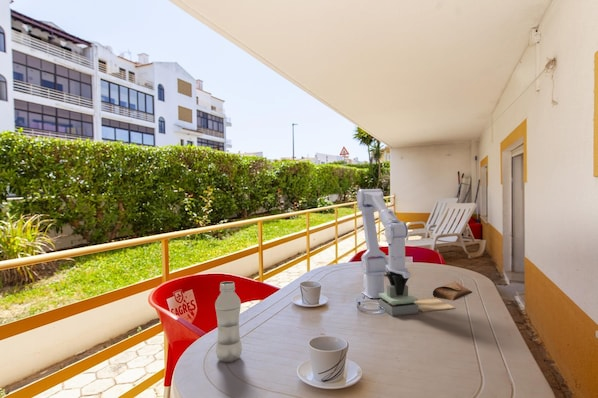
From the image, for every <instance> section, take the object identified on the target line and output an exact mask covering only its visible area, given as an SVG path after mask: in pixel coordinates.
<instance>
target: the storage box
mask: <svg viewBox="0 0 598 398" xmlns="http://www.w3.org/2000/svg"><path fill="white" fill-rule="evenodd" d="M379 305H380V306H382V307H383V308H384V309H385V311H384V312H385V313H387V314H388V315H389V316H391V317H397V316H407V315H417V314H419V310H418V304H416V303H406V304H396V305H392V304H390V303H389V302H387V301H386V300H384V299H383V298H380V299H379V298H378V306H379Z"/></svg>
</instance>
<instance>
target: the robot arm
mask: <svg viewBox="0 0 598 398" xmlns="http://www.w3.org/2000/svg"><path fill="white" fill-rule="evenodd" d="M355 198H356V204H357V205H356V206H357V210H359V212H361V216H362V224H363V231H364V237H365V244H366V246H365V247H366V251H365V252H363V254H362V255H361V257H360V259H361V264H360V266H361V272H363V274H364V275H363V278H362V279H363V281H362V283H363V291H361V293H362V294H363V296H364V295H365V296H366V297H367V298H368V299H370V298H373V299H379V298H380V299H383V298H382V297H380V296H379V293H385V275H386V277H387V279H388V281H389V284H390V285H395V288H396V294H397V295H403V292H404V288H405V285H407V283H408V280H409V279H411V272H410V271H409V267H407V266H406V238H407V237H408V234H409V228H408V226H407V224H406V221H402V220H400V219H399V218H398V217H397V215H396V214H395V213H394V211H393V210H392V209H391V208H388V206H387V204H386V202H385V200H384V192H383V190H382V189H381V188H371V189H370V188H367V189H366V188H365V189H363V188H359V189H358V191H357V192H356V197H355ZM375 211H377V212H378V214H379V216H378V219H379V220H380V223H381V224H382V226H383V227H384V235H385V237H386V243H387V244H388V247H387V248H388V259H387V255H386V252H383V250H380V246H379V240H378V234H377V227H376V221H375ZM388 271H389V272H388Z"/></svg>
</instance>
